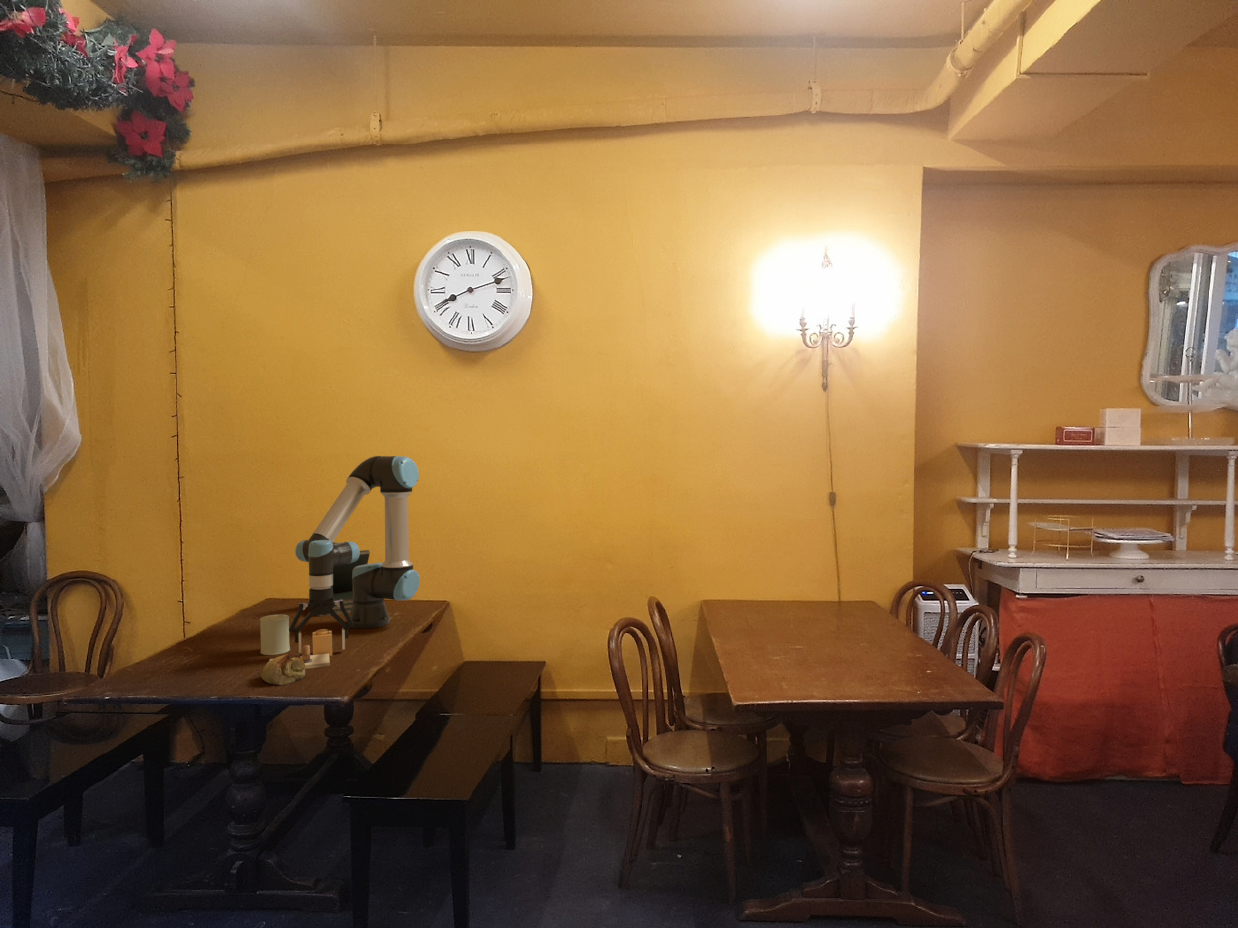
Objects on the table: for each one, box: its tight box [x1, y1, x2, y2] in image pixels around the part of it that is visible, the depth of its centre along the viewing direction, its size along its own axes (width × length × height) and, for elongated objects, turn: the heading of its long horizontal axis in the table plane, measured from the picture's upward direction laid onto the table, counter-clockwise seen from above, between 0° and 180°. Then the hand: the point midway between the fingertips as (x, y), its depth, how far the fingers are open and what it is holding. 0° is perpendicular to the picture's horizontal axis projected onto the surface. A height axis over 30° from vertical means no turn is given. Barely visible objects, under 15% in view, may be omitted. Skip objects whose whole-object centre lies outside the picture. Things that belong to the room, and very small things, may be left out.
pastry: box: [260, 653, 306, 686], centre depth 242 cm, size 14×12×8 cm
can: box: [259, 614, 291, 656], centre depth 270 cm, size 9×9×12 cm
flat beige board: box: [269, 644, 331, 670], centre depth 255 cm, size 18×11×6 cm, turn 111°
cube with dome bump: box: [312, 628, 333, 657], centre depth 266 cm, size 6×6×8 cm
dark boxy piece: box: [317, 549, 371, 617], centre depth 333 cm, size 23×20×25 cm
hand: (322, 650), depth 266 cm, fingers open, 13 cm apart
